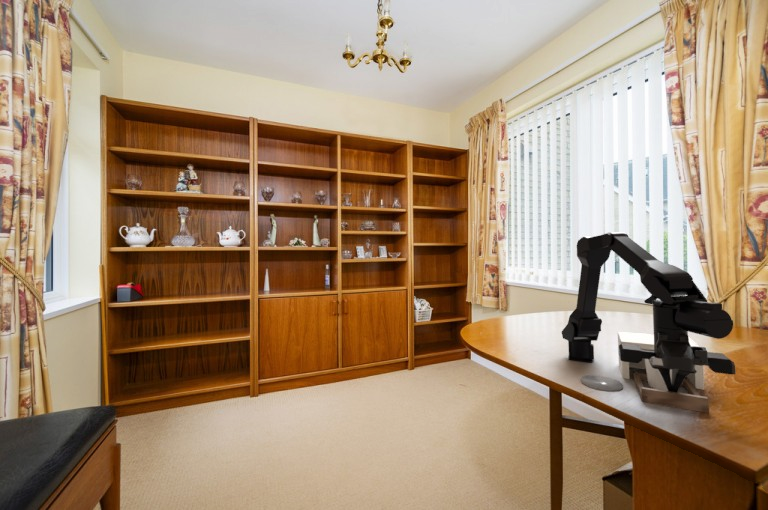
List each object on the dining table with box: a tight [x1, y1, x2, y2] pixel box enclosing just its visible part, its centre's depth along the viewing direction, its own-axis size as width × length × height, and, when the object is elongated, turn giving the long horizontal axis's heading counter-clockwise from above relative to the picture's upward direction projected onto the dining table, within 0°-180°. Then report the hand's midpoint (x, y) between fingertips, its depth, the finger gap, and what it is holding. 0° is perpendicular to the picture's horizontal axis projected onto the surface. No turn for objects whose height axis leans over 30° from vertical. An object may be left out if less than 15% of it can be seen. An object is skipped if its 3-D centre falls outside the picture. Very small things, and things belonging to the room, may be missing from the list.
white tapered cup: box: [645, 356, 672, 391], centre depth 80 cm, size 7×7×7 cm
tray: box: [632, 371, 710, 414], centre depth 77 cm, size 11×16×3 cm
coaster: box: [580, 374, 624, 392], centre depth 83 cm, size 9×9×1 cm
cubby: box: [617, 331, 705, 391], centre depth 87 cm, size 16×12×10 cm
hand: (672, 395), depth 71 cm, fingers closed, pressing on tray
